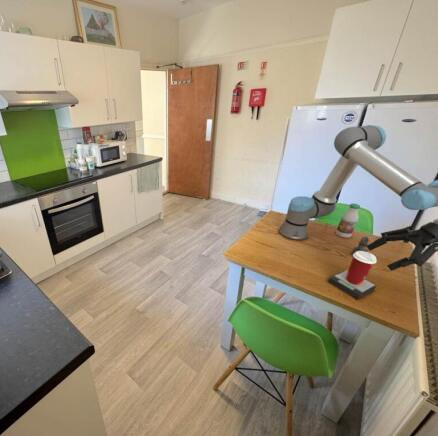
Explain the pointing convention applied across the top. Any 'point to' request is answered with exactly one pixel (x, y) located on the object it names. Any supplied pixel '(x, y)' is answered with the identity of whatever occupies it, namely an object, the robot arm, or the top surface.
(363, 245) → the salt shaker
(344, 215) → the milk bottle
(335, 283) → the scale
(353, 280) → the paper cup
